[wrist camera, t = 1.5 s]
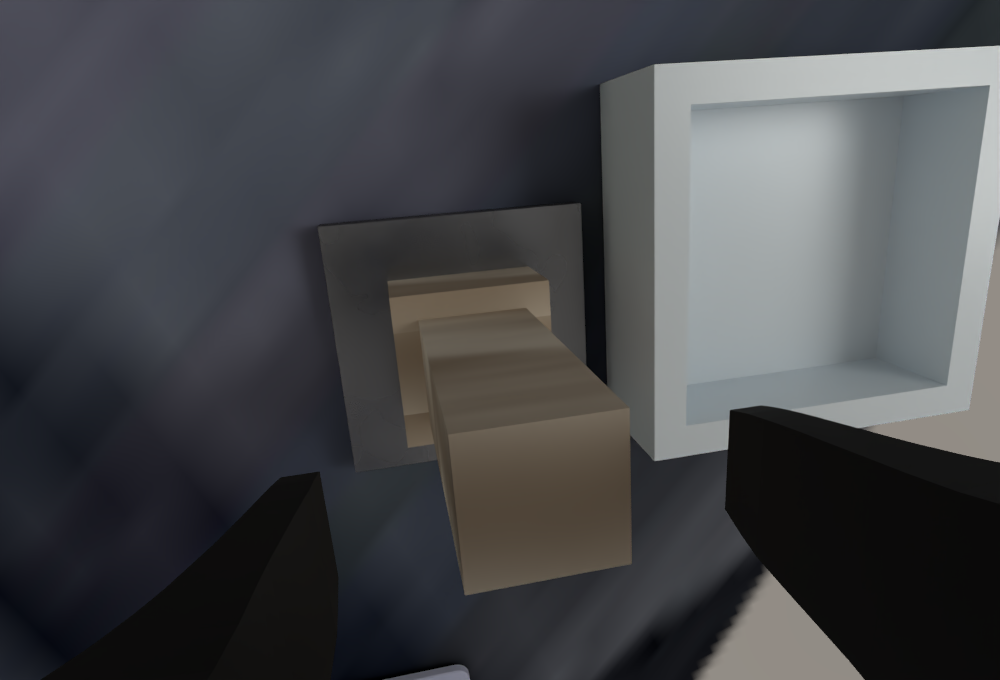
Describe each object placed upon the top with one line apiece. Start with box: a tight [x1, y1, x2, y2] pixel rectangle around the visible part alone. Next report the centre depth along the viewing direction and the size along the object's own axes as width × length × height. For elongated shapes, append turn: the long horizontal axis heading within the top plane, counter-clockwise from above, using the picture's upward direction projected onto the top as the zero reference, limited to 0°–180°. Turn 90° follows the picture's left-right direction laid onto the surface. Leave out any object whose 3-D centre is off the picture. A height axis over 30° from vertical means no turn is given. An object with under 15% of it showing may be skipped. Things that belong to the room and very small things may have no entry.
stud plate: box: [318, 202, 586, 472], centre depth 19 cm, size 8×8×3 cm
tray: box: [600, 46, 1000, 461], centre depth 20 cm, size 11×11×4 cm
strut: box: [388, 266, 632, 595], centre depth 15 cm, size 4×4×10 cm
